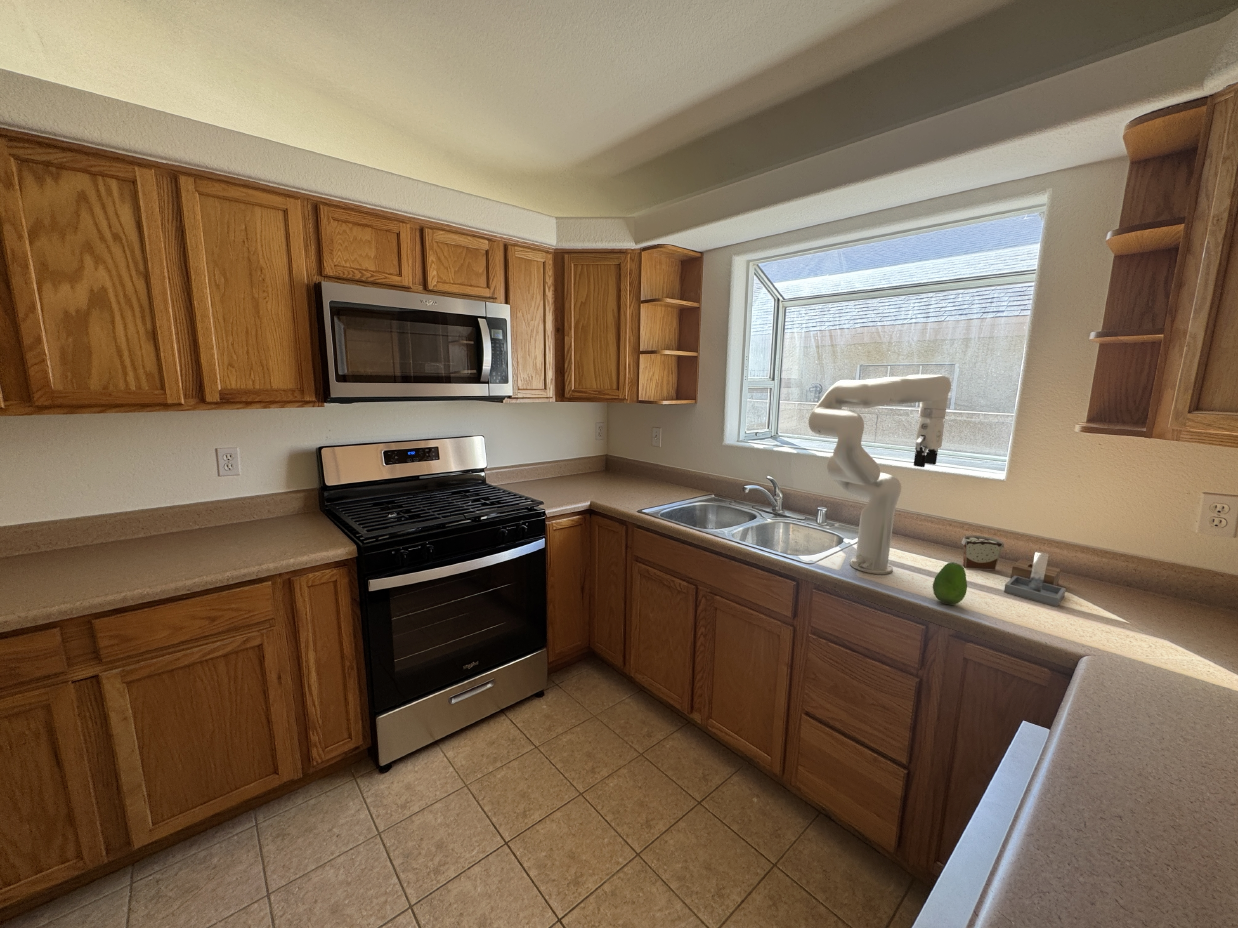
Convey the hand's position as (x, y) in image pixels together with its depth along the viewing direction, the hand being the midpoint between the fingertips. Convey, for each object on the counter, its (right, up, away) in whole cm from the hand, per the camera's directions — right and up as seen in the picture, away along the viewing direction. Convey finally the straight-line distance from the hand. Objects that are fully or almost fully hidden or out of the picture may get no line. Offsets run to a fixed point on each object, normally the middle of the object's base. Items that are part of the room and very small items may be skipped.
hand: (924, 465), depth 166 cm
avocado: (-11, -39, -28) cm, 49 cm away
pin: (+19, -37, -21) cm, 47 cm away
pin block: (+27, -37, -12) cm, 47 cm away
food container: (+18, -34, +1) cm, 38 cm away
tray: (+19, -38, -21) cm, 47 cm away
